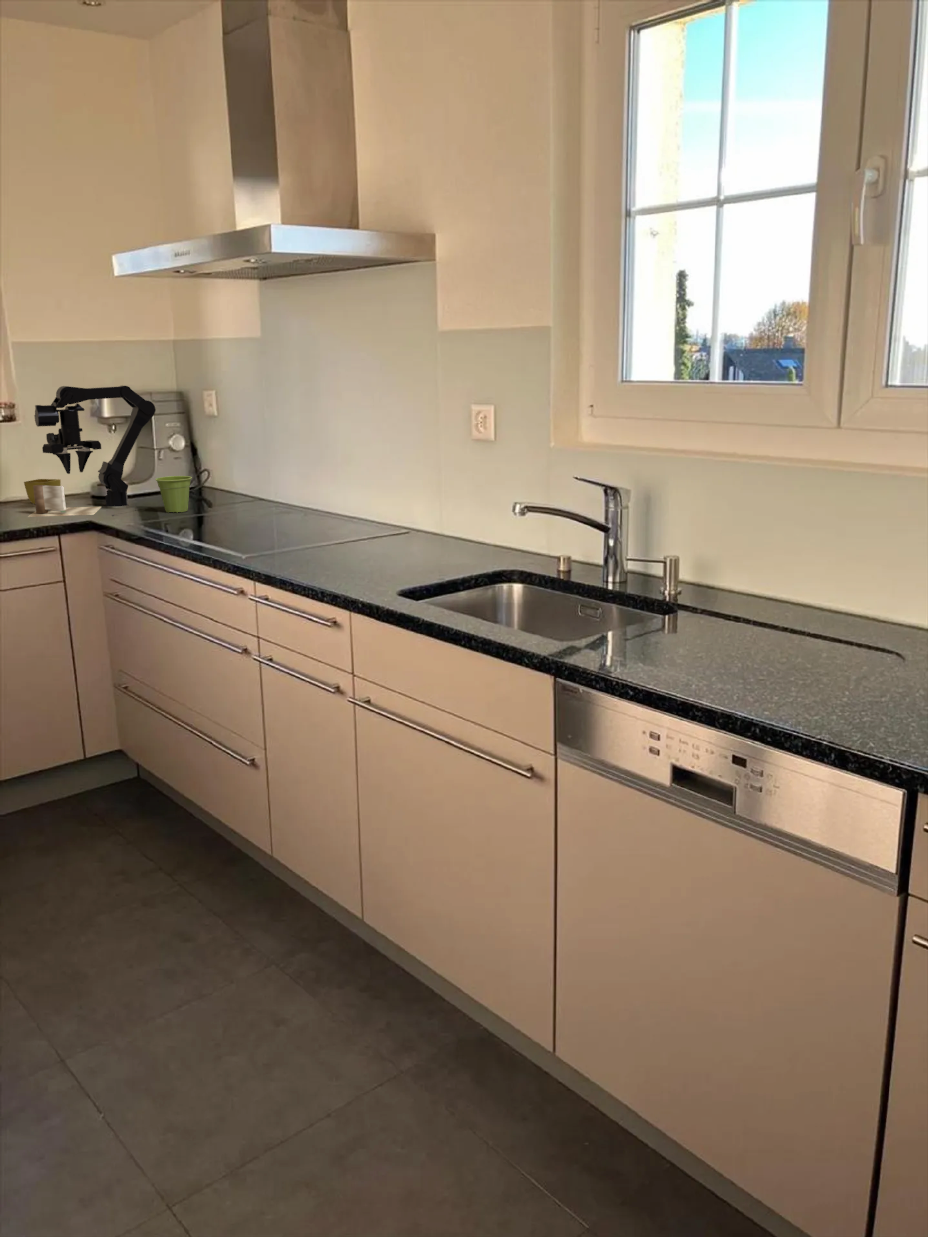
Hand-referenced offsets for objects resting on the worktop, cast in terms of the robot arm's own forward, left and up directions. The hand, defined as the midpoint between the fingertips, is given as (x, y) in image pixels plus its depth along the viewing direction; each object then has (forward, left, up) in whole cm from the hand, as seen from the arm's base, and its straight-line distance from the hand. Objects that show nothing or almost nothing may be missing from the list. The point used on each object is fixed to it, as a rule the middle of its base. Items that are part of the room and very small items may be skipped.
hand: (74, 473), depth 337 cm
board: (+3, +6, -13) cm, 15 cm away
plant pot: (-32, +6, -13) cm, 35 cm away
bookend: (+6, +8, -12) cm, 15 cm away
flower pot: (+14, -17, -13) cm, 26 cm away
